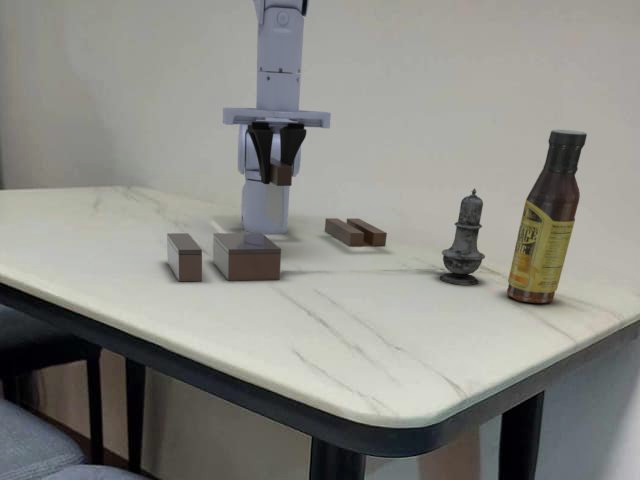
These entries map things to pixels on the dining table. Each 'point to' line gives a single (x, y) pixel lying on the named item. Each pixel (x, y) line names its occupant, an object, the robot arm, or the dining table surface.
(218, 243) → the brown lidded box
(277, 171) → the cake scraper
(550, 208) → the sauce bottle
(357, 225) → the knife stand
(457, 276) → the salt shaker
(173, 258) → the brown rectangular block
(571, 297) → the dining table surface
